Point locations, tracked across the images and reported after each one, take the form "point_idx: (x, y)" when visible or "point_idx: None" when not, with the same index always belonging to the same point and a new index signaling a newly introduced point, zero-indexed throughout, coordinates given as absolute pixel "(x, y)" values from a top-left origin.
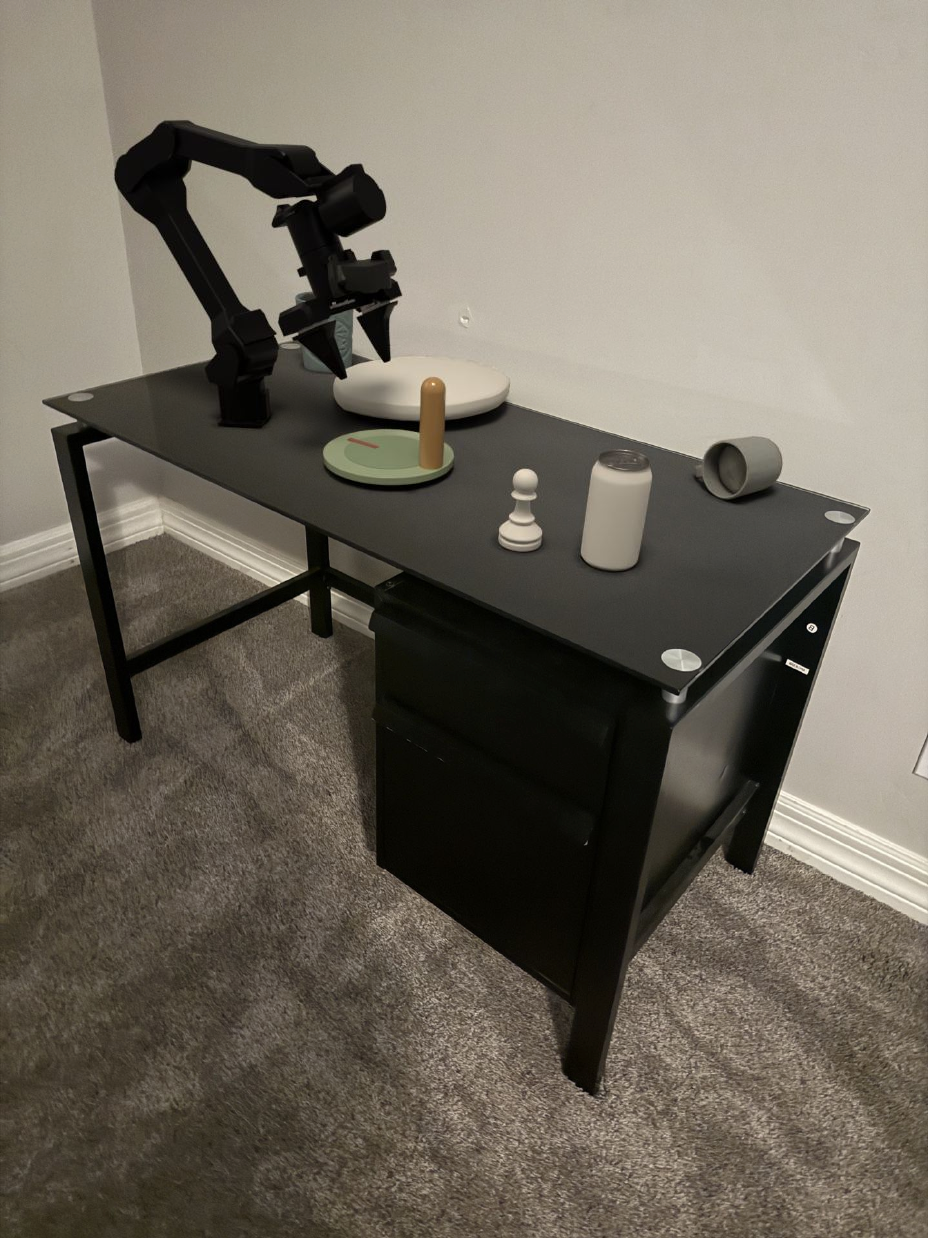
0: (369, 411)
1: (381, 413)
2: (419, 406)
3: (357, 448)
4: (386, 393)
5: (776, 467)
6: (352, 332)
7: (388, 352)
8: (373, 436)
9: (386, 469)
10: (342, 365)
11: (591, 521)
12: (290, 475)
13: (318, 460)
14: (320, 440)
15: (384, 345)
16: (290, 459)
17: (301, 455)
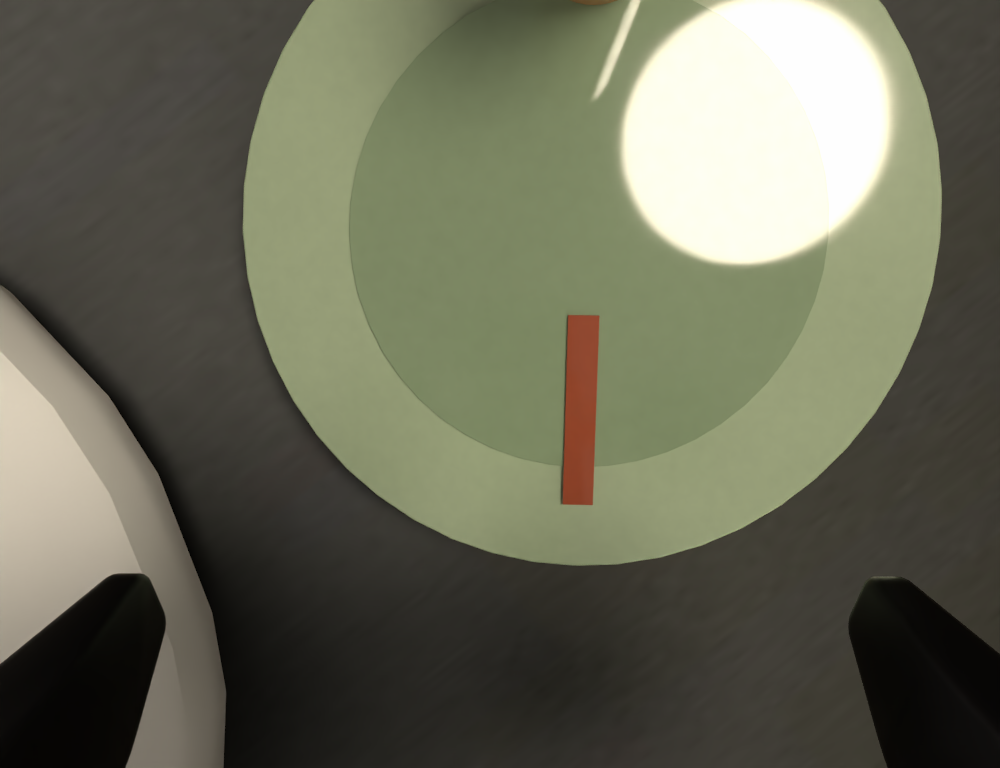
0: (214, 651)
1: (193, 586)
2: (53, 404)
3: (657, 387)
4: None
5: None
6: None
7: (80, 631)
8: (466, 429)
9: (795, 90)
10: (995, 674)
11: None
12: (943, 517)
13: (727, 534)
14: (528, 678)
15: (43, 731)
16: (794, 634)
17: (727, 628)
